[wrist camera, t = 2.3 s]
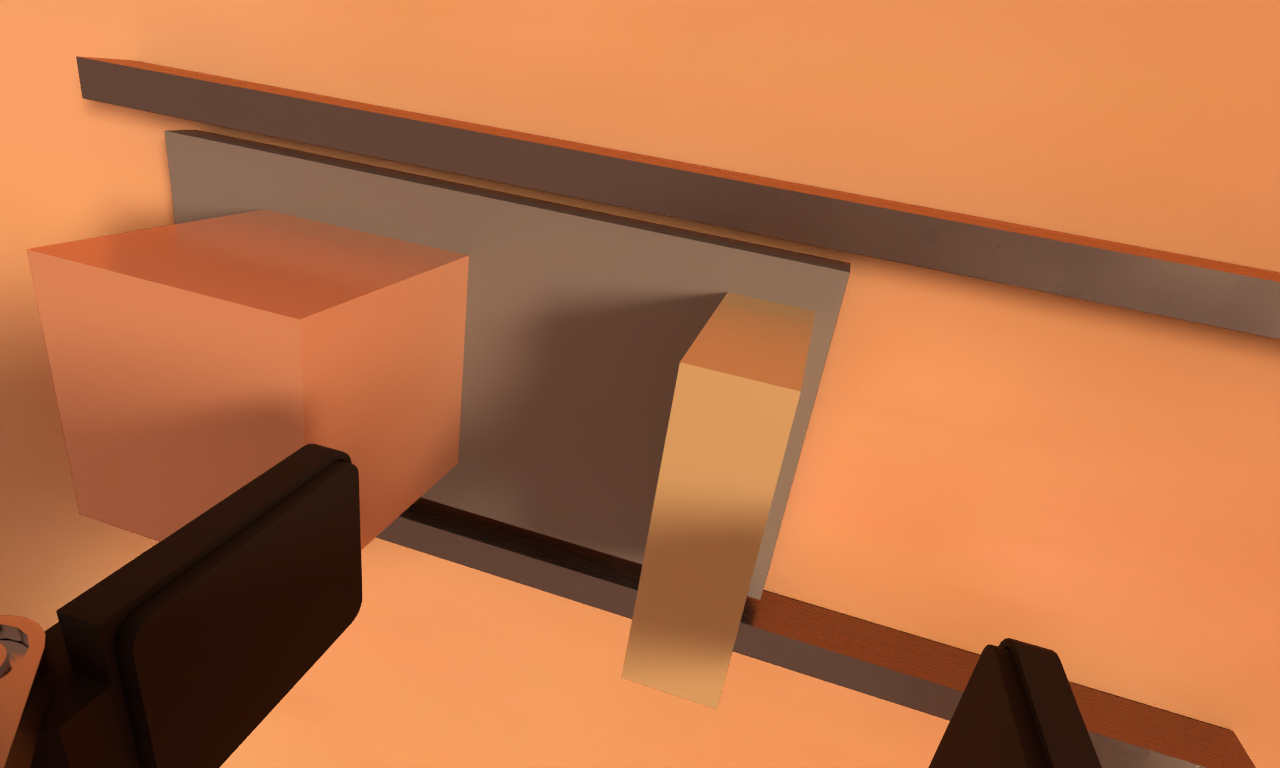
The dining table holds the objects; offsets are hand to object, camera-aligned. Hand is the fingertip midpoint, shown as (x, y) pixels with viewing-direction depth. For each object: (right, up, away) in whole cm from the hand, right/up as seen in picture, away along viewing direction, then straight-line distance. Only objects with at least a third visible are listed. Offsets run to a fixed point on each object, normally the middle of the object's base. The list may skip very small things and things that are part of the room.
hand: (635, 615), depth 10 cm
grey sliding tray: (-4, +4, +9) cm, 11 cm away
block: (-8, +5, +9) cm, 13 cm away
